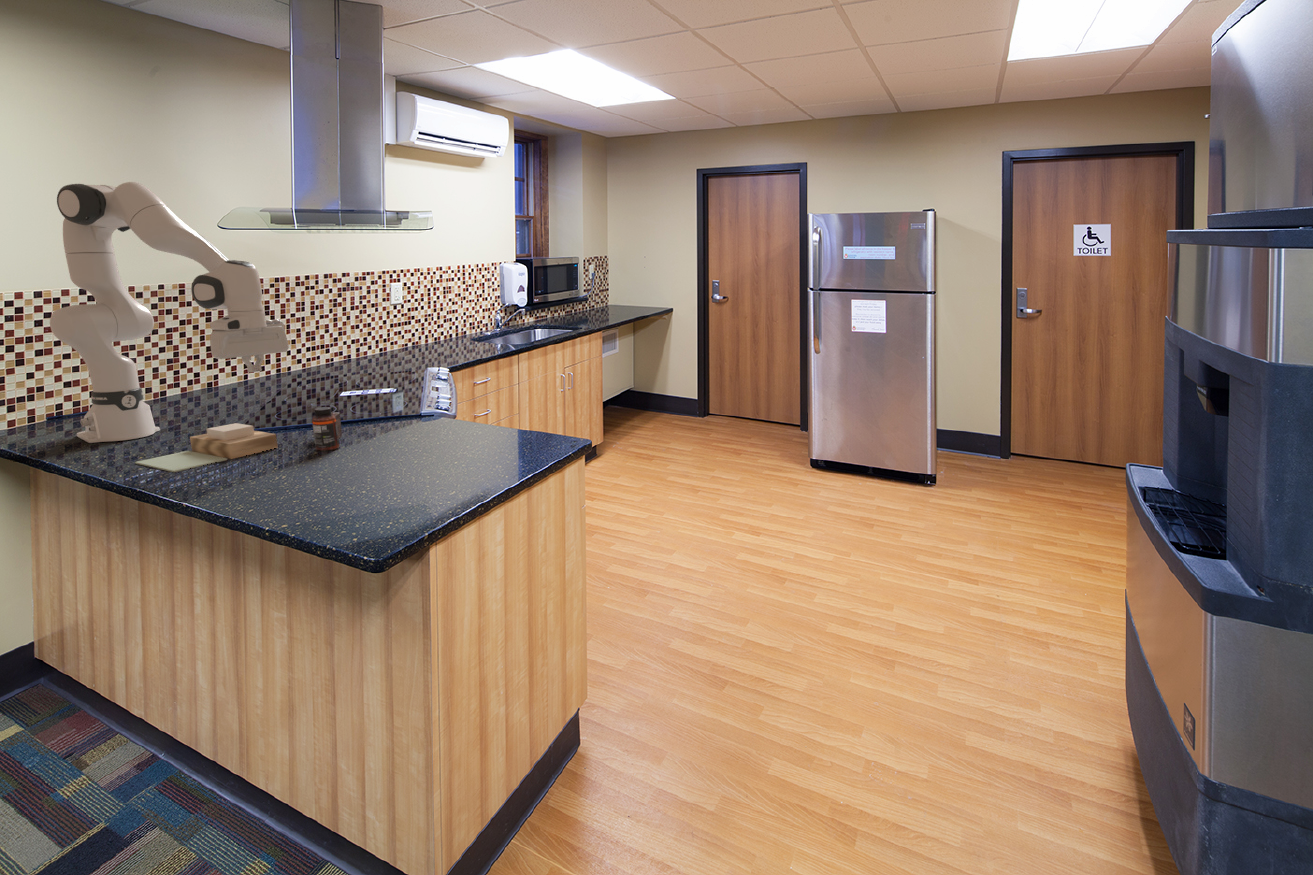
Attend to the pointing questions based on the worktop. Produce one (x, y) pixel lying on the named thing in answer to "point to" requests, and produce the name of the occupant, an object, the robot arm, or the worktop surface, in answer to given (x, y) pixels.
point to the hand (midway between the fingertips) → (254, 371)
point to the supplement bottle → (325, 429)
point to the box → (338, 424)
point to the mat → (180, 461)
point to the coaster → (230, 431)
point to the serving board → (234, 445)
